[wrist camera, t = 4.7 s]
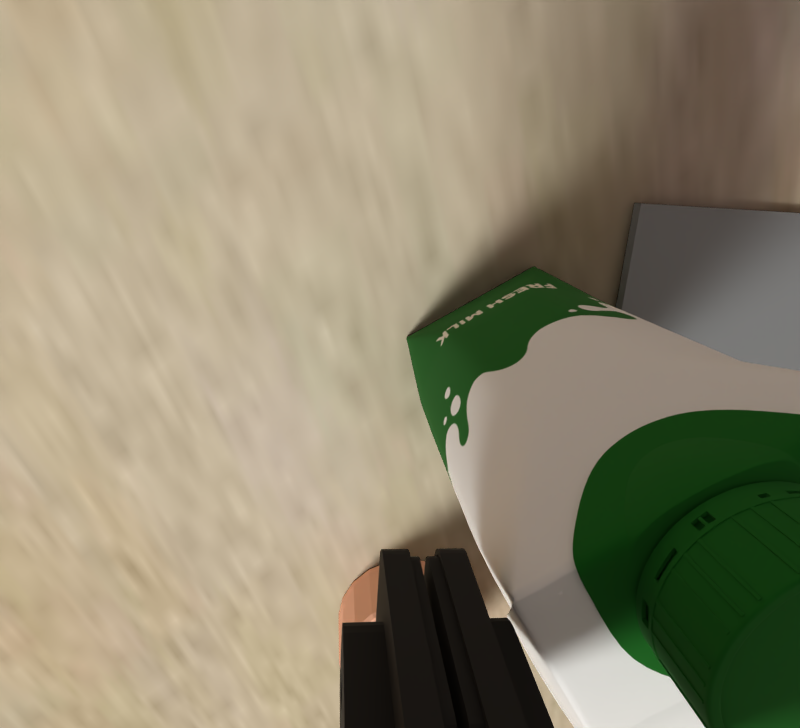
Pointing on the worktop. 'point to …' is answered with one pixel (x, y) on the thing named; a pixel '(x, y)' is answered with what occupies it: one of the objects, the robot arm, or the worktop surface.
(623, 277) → the mat
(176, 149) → the worktop surface
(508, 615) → the soya milk
